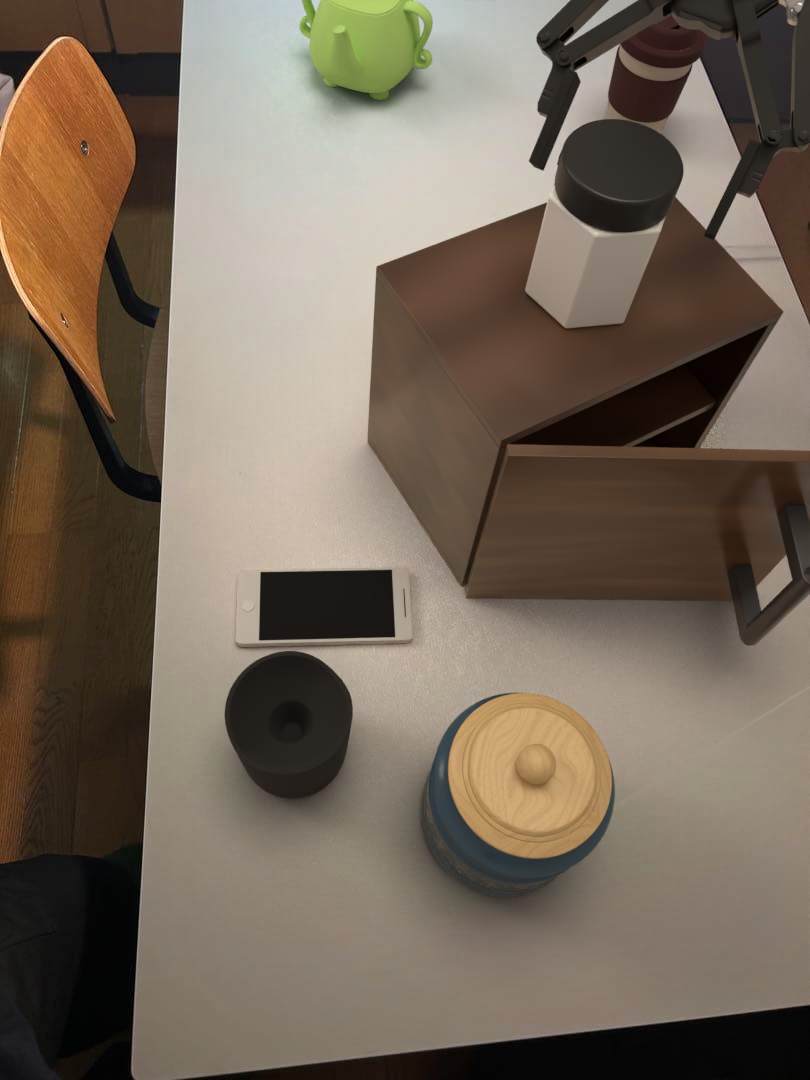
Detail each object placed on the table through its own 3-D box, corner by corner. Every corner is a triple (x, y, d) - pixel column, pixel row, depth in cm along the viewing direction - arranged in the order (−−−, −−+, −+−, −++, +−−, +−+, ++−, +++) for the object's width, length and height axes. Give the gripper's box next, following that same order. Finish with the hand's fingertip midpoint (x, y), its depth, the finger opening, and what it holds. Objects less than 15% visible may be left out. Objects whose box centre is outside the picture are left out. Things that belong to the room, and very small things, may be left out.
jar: (621, 244, 74) (669, 113, 63) (651, 323, 70) (707, 198, 60) (512, 253, 73) (542, 120, 62) (536, 334, 69) (572, 207, 59)
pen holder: (351, 693, 80) (353, 651, 71) (350, 804, 76) (352, 773, 67) (241, 693, 80) (229, 650, 71) (233, 805, 75) (220, 774, 66)
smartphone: (238, 573, 85) (237, 569, 84) (408, 570, 86) (408, 566, 85) (236, 647, 81) (235, 643, 80) (412, 643, 83) (413, 639, 82)
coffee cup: (585, 104, 119) (616, -13, 105) (660, 103, 120) (700, -13, 107) (601, 158, 114) (635, 43, 101) (678, 156, 115) (723, 42, 102)
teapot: (441, 107, 117) (453, 9, 106) (333, 127, 114) (333, 28, 102) (397, 29, 124) (404, -71, 112) (294, 45, 120) (290, -55, 109)
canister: (508, 937, 72) (556, 909, 56) (386, 818, 75) (399, 762, 60) (608, 812, 77) (677, 755, 61) (489, 706, 80) (525, 627, 65)
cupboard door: (757, 670, 83) (898, 548, 63) (469, 669, 82) (515, 543, 61) (741, 591, 87) (869, 451, 66) (465, 588, 85) (506, 443, 65)
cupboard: (682, 476, 93) (784, 311, 72) (460, 587, 86) (501, 440, 64) (580, 349, 100) (645, 164, 79) (366, 442, 92) (376, 266, 71)
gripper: (585, -209, 60) (455, 127, 66) (970, -82, 55) (790, 263, 62) (595, -152, 67) (477, 147, 73) (938, -36, 62) (780, 270, 69)
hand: (621, 201), depth 68 cm, fingers open, 13 cm apart
